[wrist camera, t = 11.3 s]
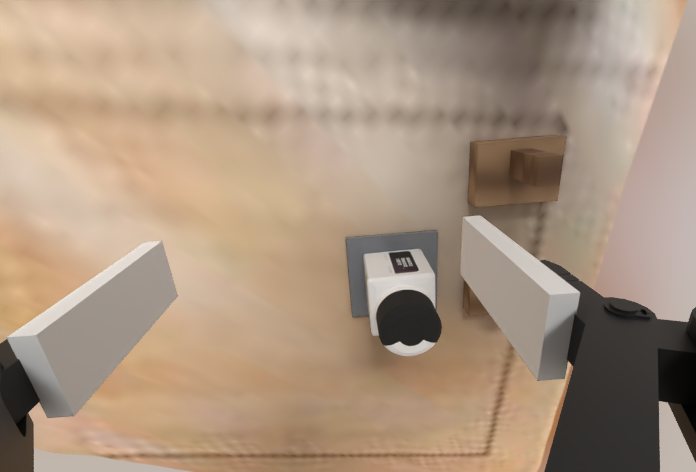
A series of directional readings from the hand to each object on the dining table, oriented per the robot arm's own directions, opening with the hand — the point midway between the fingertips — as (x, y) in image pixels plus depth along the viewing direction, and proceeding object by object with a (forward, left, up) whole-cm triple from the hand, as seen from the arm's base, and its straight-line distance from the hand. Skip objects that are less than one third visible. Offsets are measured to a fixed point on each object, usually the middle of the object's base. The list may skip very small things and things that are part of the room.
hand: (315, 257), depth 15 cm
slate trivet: (+16, +7, -29) cm, 34 cm away
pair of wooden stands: (+11, +22, -29) cm, 38 cm away
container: (+16, +7, -28) cm, 33 cm away
